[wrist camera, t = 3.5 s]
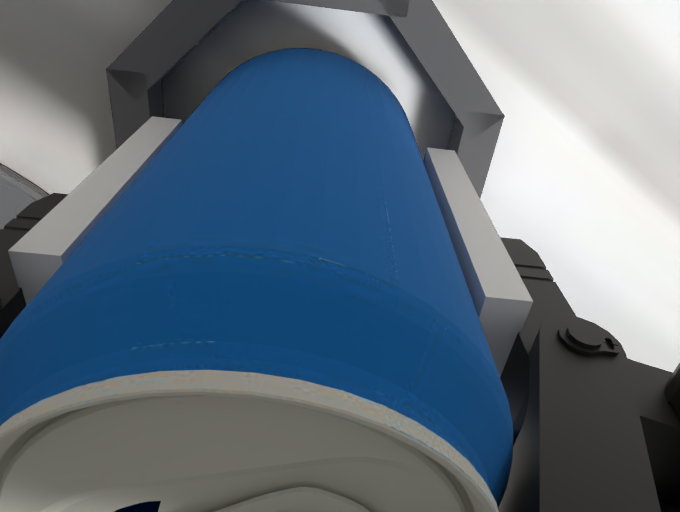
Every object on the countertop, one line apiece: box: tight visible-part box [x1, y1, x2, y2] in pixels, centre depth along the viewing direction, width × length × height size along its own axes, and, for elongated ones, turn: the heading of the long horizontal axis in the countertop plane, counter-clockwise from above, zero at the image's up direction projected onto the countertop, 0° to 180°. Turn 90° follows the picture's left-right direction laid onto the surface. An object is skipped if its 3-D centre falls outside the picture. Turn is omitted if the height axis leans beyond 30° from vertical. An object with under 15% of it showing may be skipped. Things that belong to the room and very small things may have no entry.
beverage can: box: [0, 48, 513, 512], centre depth 10 cm, size 6×6×12 cm
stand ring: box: [106, 0, 504, 198], centre depth 15 cm, size 10×10×1 cm
